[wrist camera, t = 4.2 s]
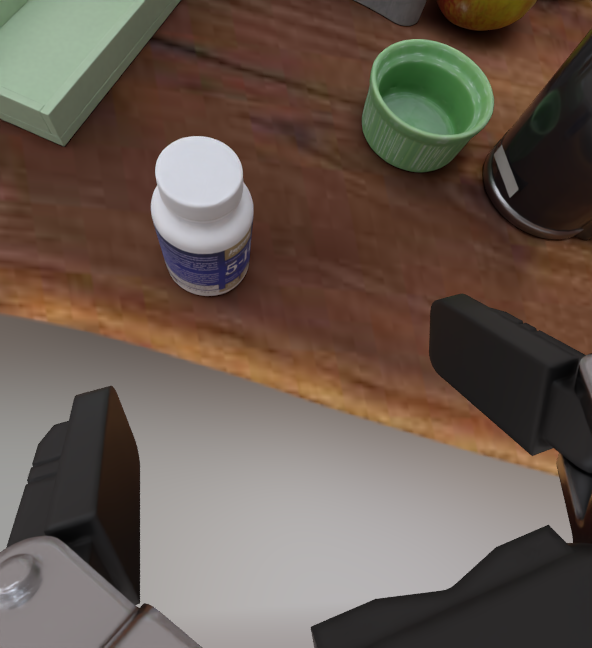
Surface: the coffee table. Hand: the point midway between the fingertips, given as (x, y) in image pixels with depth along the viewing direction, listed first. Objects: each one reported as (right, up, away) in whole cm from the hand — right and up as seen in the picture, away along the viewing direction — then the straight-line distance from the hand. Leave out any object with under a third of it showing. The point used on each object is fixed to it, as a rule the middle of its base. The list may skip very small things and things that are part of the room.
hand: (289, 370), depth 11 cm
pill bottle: (-6, +5, +18) cm, 19 cm away
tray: (-15, +27, +23) cm, 38 cm away
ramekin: (+9, +16, +23) cm, 30 cm away
